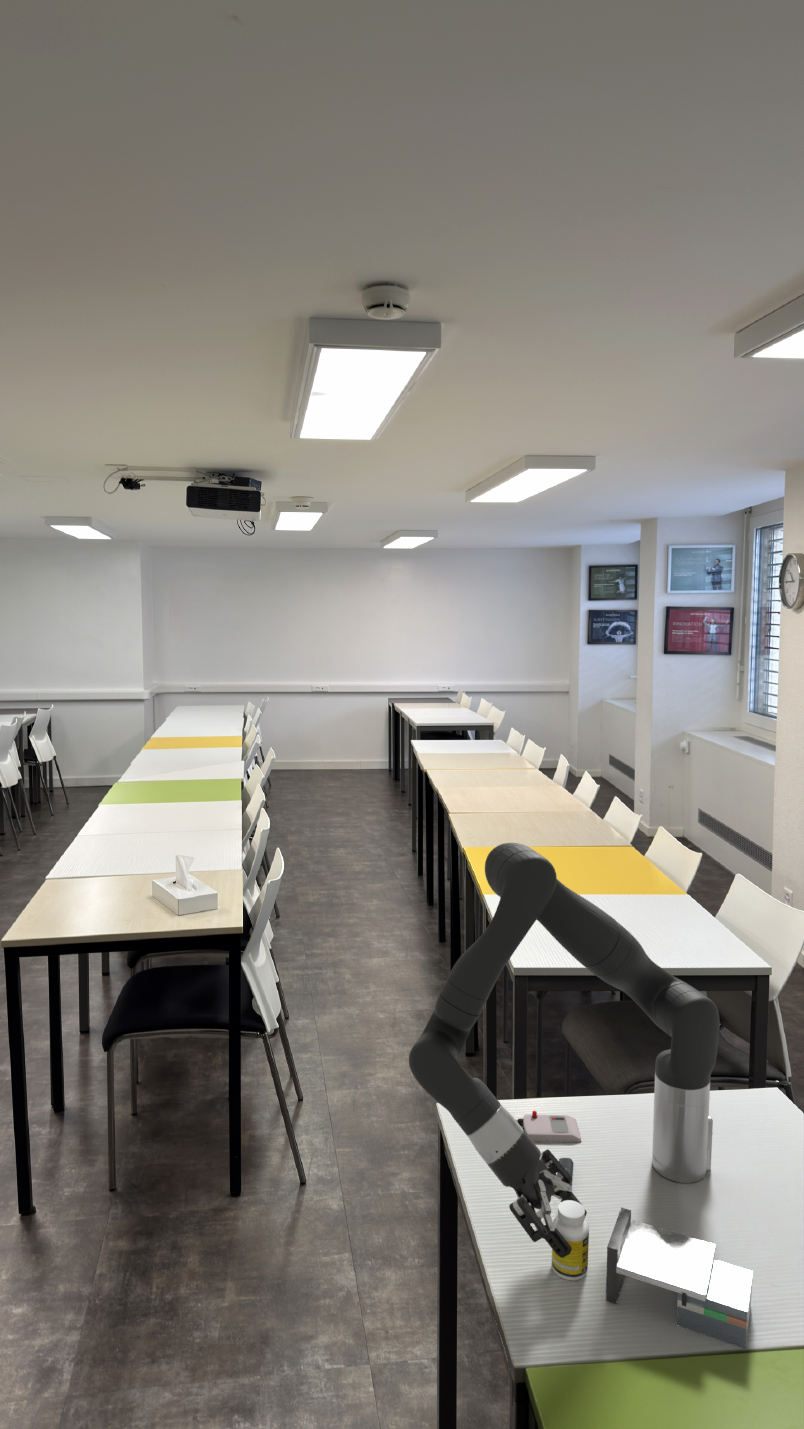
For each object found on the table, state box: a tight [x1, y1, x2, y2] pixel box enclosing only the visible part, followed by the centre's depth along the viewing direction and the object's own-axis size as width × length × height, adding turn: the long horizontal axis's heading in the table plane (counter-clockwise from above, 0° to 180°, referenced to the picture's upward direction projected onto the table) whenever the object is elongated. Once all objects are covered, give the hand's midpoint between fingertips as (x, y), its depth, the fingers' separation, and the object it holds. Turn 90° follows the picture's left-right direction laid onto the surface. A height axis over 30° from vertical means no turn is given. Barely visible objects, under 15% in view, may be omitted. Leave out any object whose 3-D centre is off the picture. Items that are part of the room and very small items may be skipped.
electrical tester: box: [515, 1110, 582, 1143], centre depth 168 cm, size 7×16×3 cm, turn 88°
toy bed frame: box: [605, 1207, 716, 1306], centre depth 128 cm, size 14×10×8 cm
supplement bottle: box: [551, 1200, 590, 1281], centre depth 134 cm, size 5×5×10 cm
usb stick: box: [557, 1157, 574, 1188], centre depth 155 cm, size 10×3×2 cm, turn 167°
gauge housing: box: [676, 1258, 754, 1349], centre depth 125 cm, size 9×8×6 cm
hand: (575, 1235), depth 133 cm, fingers open, 8 cm apart
